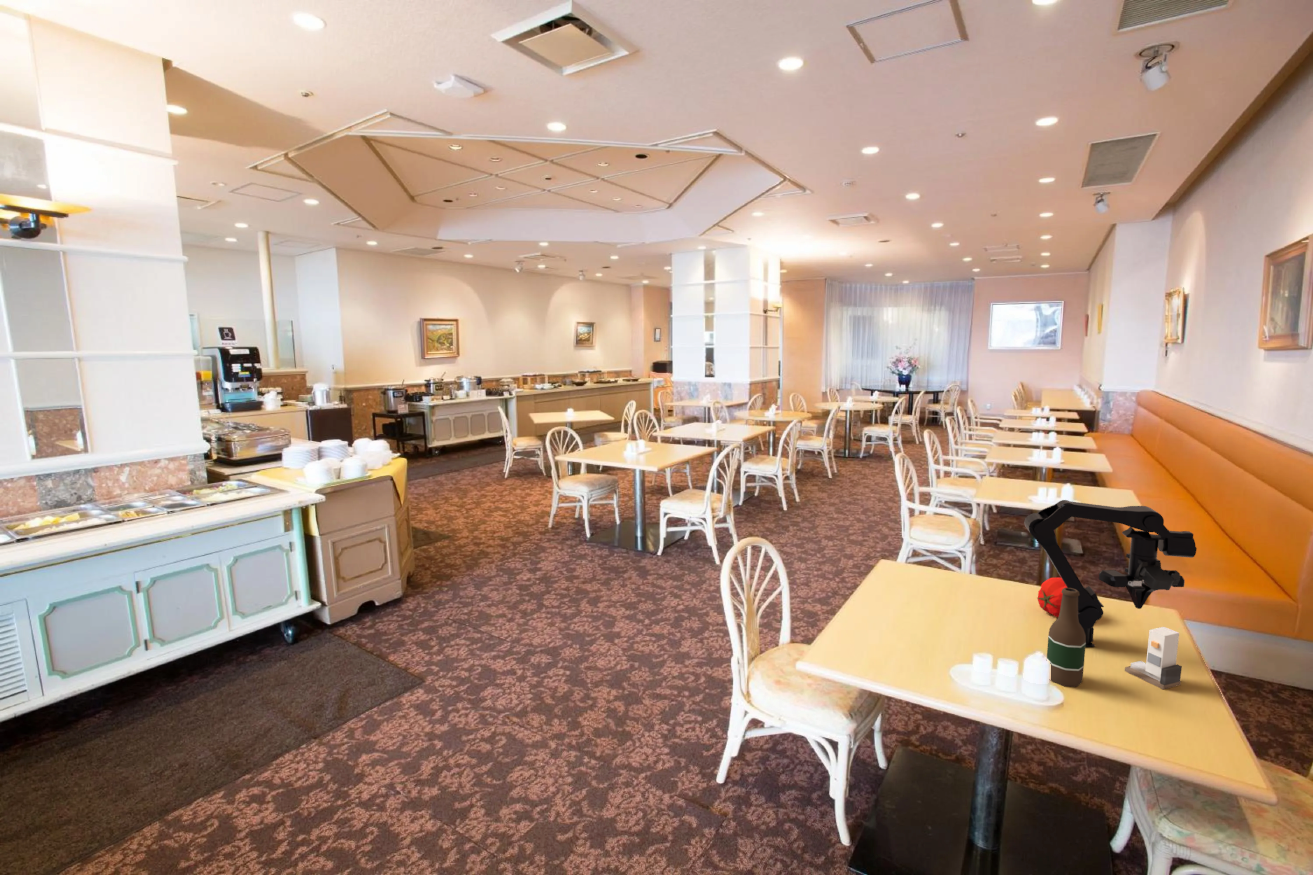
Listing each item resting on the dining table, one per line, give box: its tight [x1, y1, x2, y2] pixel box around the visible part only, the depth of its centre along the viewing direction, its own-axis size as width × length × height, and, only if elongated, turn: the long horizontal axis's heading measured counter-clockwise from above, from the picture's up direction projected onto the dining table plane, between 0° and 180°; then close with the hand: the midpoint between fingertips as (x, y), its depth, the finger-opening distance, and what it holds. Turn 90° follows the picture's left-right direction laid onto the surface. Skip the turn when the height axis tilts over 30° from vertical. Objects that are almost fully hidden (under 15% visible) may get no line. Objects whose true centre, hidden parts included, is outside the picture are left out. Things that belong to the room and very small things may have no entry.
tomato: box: [1037, 576, 1067, 618], centre depth 189 cm, size 13×13×13 cm
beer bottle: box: [1046, 588, 1086, 688], centre depth 152 cm, size 8×8×24 cm
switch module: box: [1145, 626, 1180, 678], centre depth 150 cm, size 4×6×11 cm, turn 107°
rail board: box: [1124, 660, 1182, 690], centre depth 153 cm, size 9×6×5 cm, turn 17°
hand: (1138, 608), depth 166 cm, fingers closed
